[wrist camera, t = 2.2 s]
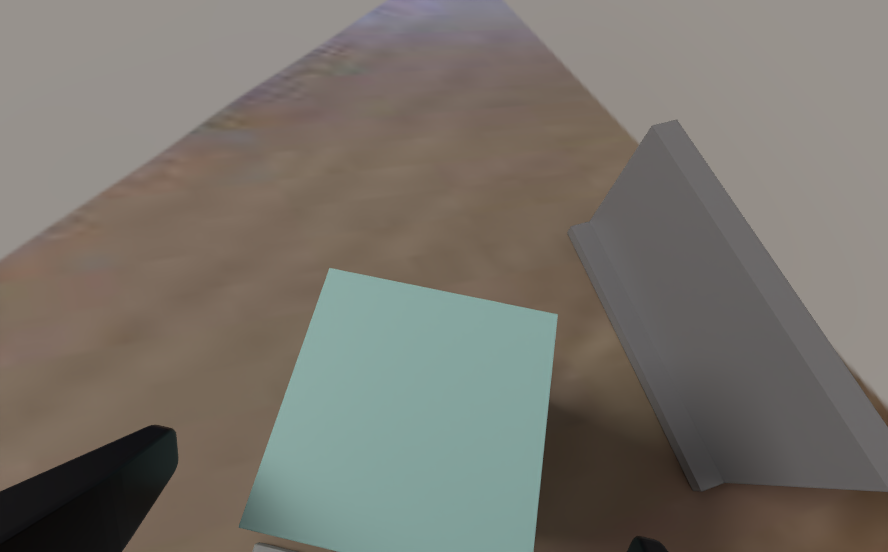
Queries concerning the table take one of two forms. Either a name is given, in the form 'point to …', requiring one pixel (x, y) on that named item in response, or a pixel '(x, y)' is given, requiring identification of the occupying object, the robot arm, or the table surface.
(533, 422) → the teal block
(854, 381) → the screen
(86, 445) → the table surface
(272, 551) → the grey mat
